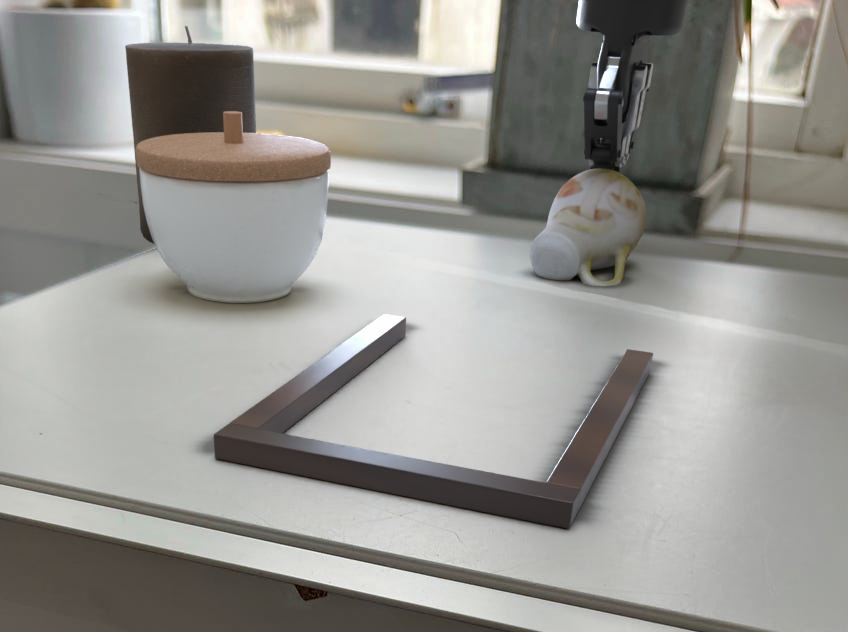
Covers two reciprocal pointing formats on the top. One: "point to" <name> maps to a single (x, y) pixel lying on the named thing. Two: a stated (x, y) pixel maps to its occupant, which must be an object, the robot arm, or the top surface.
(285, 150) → the lidded bowl
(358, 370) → the frame
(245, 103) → the pillar candle
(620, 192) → the mug
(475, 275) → the top surface
